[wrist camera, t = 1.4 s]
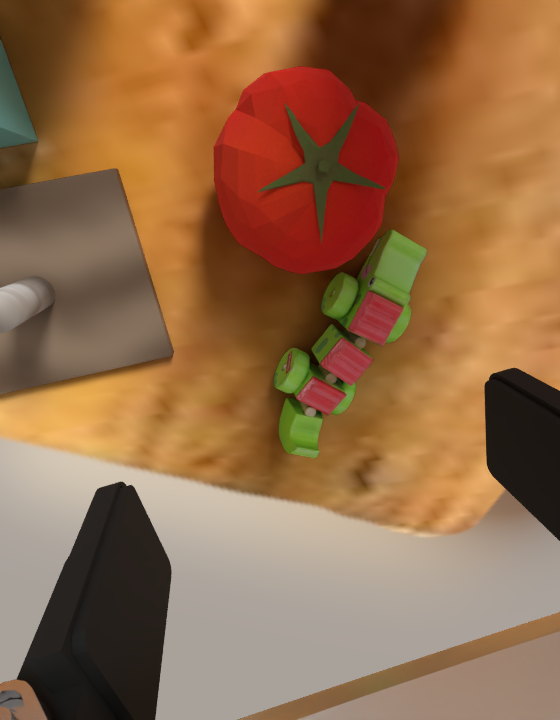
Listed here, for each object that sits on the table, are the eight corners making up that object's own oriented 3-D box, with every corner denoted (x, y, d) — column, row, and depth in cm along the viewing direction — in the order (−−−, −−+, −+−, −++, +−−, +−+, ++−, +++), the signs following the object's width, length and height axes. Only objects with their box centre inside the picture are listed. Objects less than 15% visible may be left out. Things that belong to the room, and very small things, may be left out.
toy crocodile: (368, 216, 32) (401, 218, 26) (427, 258, 34) (470, 269, 28) (247, 410, 36) (254, 447, 31) (307, 437, 39) (322, 476, 33)
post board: (-122, 213, 26) (-229, 215, 20) (118, 169, 28) (89, 158, 21) (-23, 395, 32) (-83, 443, 25) (173, 351, 33) (164, 386, 27)
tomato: (379, 232, 32) (448, 244, 23) (249, 284, 32) (264, 317, 23) (338, 65, 28) (403, -8, 18) (185, 125, 27) (171, 83, 18)
